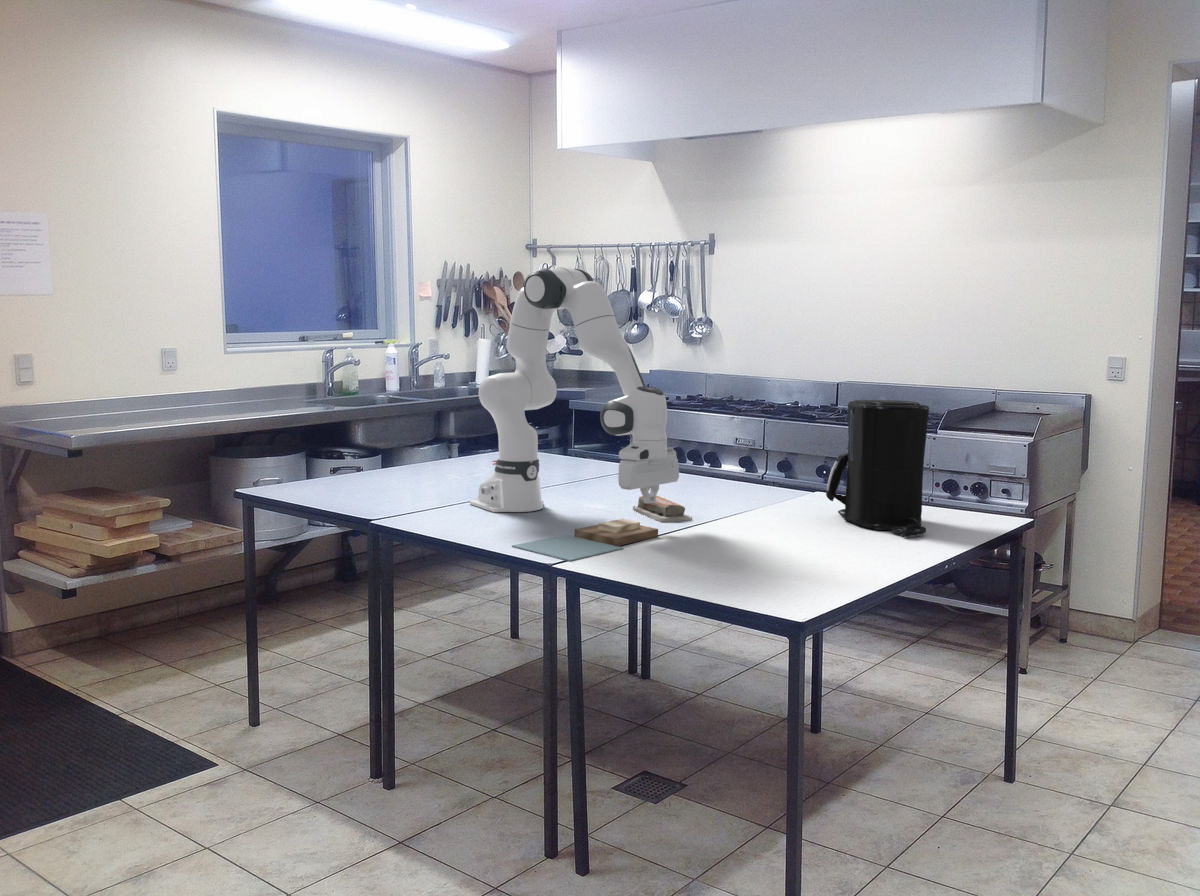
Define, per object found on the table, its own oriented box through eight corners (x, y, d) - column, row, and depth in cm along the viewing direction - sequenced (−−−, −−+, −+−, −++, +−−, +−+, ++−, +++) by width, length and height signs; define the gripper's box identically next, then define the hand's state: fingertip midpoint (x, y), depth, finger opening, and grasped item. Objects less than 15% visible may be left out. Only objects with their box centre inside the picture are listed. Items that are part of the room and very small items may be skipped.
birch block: (615, 533, 258) (615, 527, 258) (598, 529, 262) (598, 523, 262) (639, 527, 264) (639, 522, 264) (622, 524, 268) (622, 518, 268)
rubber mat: (511, 546, 251) (511, 545, 251) (565, 535, 264) (565, 534, 263) (570, 561, 237) (570, 560, 237) (623, 548, 250) (623, 547, 250)
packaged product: (631, 495, 297) (662, 493, 301) (631, 512, 297) (662, 509, 301) (660, 506, 280) (693, 504, 285) (660, 524, 281) (692, 521, 285)
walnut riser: (574, 537, 262) (574, 529, 261) (617, 528, 273) (617, 520, 273) (615, 546, 252) (615, 538, 252) (658, 536, 264) (658, 528, 263)
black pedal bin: (876, 510, 302) (882, 394, 298) (965, 531, 274) (972, 404, 270) (816, 517, 291) (821, 397, 287) (902, 540, 263) (909, 407, 259)
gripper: (666, 445, 278) (666, 496, 279) (614, 452, 263) (614, 506, 265) (684, 447, 273) (684, 499, 275) (632, 454, 259) (632, 509, 260)
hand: (649, 502), depth 270 cm, fingers closed
